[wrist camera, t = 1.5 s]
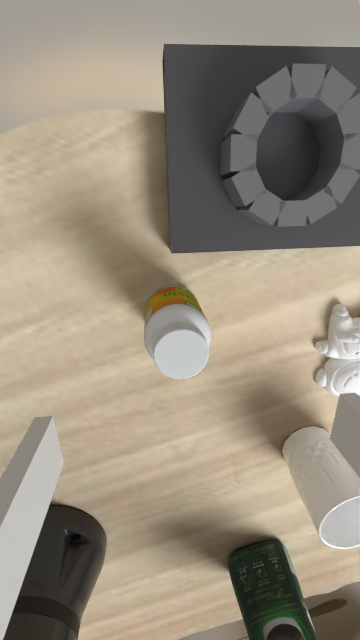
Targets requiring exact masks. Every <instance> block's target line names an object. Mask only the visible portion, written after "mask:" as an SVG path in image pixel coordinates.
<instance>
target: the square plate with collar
mask: <svg viewBox="0 0 360 640" xmlns="http://www.w3.org/2000/svg"><path fill="white" fill-rule="evenodd" d="M163 83H164V110H165V137H166V163H167V189H168V215H169V241H170V251H171V253H194V252H219V251H244V250H268V249H293V248H317V247H342V246H360V47H302V46H246V45H243V46H242V45H187V44H186V45H185V44H164V51H163Z"/></svg>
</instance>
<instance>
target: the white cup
mask: <svg viewBox="0 0 360 640" xmlns="http://www.w3.org/2000/svg"><path fill="white" fill-rule="evenodd" d="M330 437H331V435H330V434H329V433H328V432H327V431H326V430H325V429H324V428H320V427H315V426H311V427H305V428H301V429H299V430H298V431H296V432H294V433H292V434H291V435H290V436H289V437H288V439H287V440H286V441H285V442H284V446H283V449H282V453H283V457H284V460H285V462H286V464H287V466H288V468H289V470H290V474H291V476H292V479H293V481H294V483H295V485H296V488H297V490H298V492H299V494H300V497H301V499H302V501H303V503H304V505H305V507H306V509H307V511H308V513H309V516H310V518H311V520H312V522H313V524H314V526H315V528H316V530H317V533H318V535H319V537H320V539H321V540H322V541H323V542H324V543H325V544H326V545H328V546H330V547H334V548H340V549H346V548H354V547H358V546H360V478H359V477H358V475H357V474H356V473H355V471H354V470H353V469H352V467H351V466H350V465H349V464H348V462H347V461H346V460H345V458H344V457H343V456H342V454H341V453H340V452H339V450H338V449H337V448H336V446H335V445H334V444H333V443H332V441H331V440H330Z"/></svg>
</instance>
